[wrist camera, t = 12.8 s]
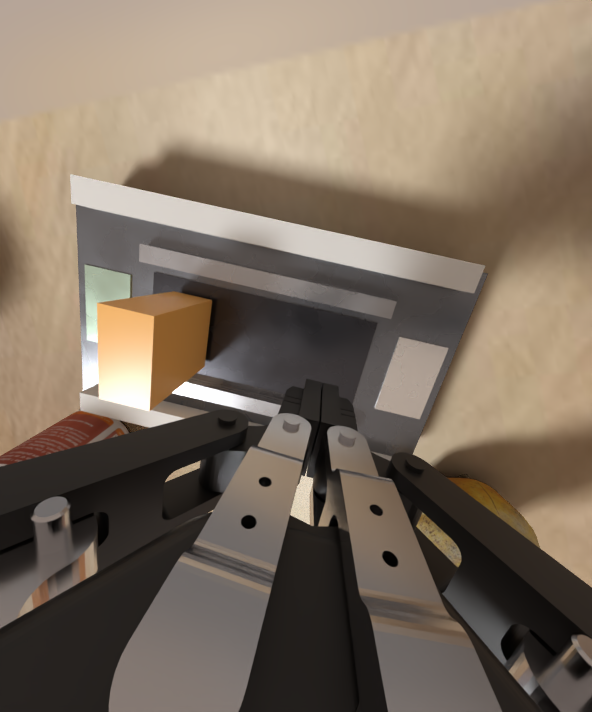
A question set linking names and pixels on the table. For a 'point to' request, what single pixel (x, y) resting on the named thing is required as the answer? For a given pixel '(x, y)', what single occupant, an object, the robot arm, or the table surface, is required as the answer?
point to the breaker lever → (150, 346)
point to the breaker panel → (281, 323)
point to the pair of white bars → (264, 235)
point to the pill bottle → (66, 436)
